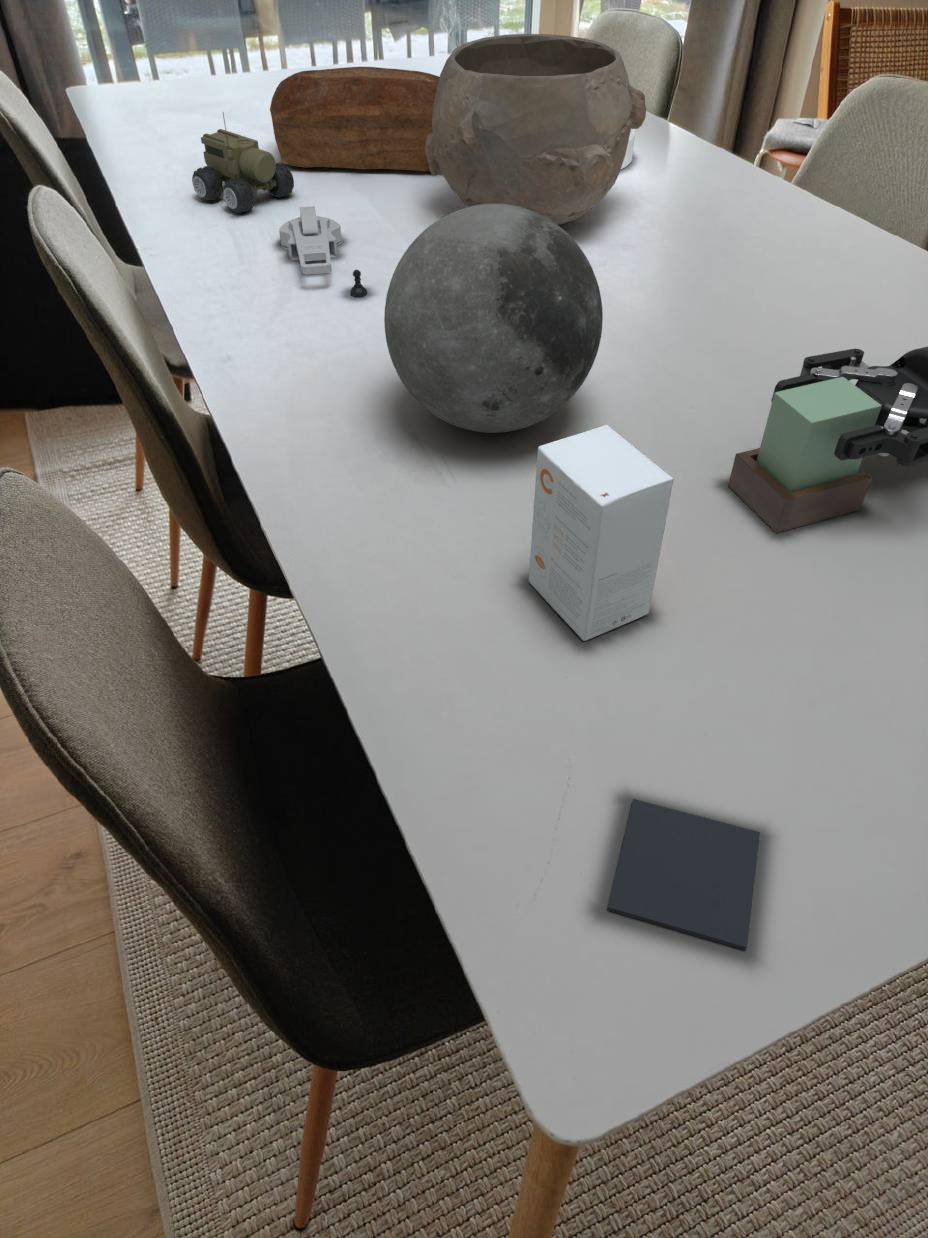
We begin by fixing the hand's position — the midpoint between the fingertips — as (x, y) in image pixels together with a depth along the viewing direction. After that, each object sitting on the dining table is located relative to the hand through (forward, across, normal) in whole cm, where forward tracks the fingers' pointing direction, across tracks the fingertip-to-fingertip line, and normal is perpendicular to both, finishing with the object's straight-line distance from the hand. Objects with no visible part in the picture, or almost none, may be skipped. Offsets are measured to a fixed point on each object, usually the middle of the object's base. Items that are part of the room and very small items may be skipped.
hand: (806, 420), depth 77 cm
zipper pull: (+25, +64, -8) cm, 70 cm away
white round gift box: (-22, +86, -8) cm, 89 cm away
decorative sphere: (+19, +22, -8) cm, 30 cm away
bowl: (-6, +67, -8) cm, 68 cm away
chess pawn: (+23, +53, -8) cm, 59 cm away
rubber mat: (+28, -29, -8) cm, 41 cm away
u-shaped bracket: (-2, 0, -8) cm, 8 cm away
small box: (+22, -5, -8) cm, 24 cm away
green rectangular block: (-2, 0, -8) cm, 8 cm away
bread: (+8, +96, -8) cm, 97 cm away
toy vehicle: (+29, +88, -8) cm, 93 cm away
